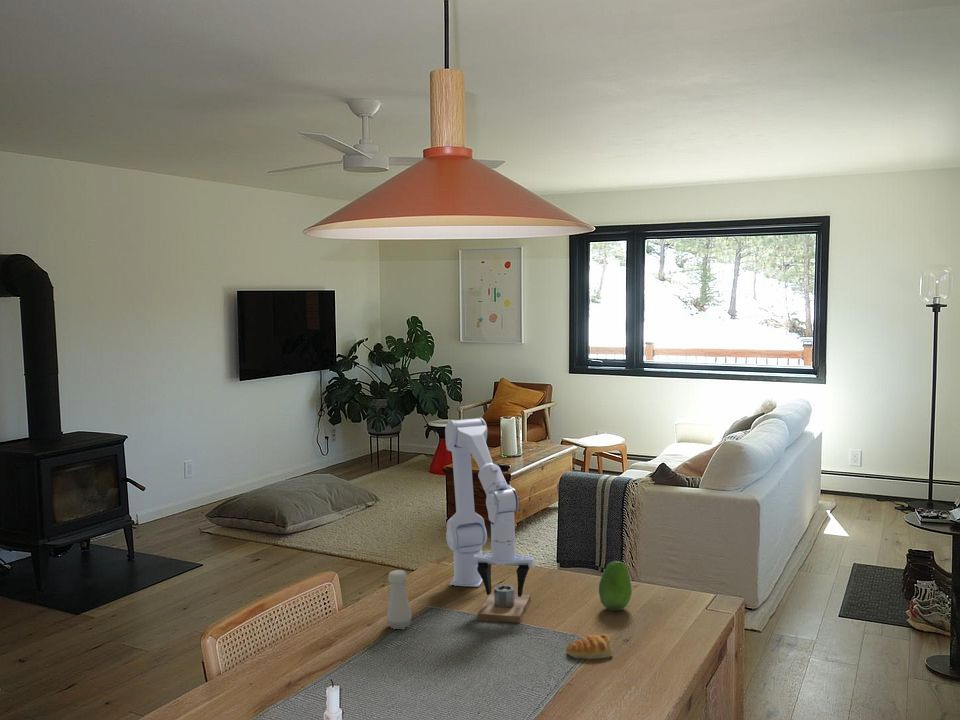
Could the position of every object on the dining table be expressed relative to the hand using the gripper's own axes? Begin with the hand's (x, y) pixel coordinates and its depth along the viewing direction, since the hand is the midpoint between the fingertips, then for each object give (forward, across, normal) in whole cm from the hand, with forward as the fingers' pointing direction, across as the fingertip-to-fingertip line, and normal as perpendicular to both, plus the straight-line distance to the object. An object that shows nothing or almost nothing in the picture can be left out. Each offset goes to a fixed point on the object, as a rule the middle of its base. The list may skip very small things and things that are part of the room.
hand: (504, 594), depth 198 cm
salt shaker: (+4, -22, -14) cm, 26 cm away
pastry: (+4, +23, -20) cm, 31 cm away
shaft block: (+4, 0, 0) cm, 4 cm away
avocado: (+4, +26, +5) cm, 27 cm away
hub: (+2, 0, 0) cm, 2 cm away
